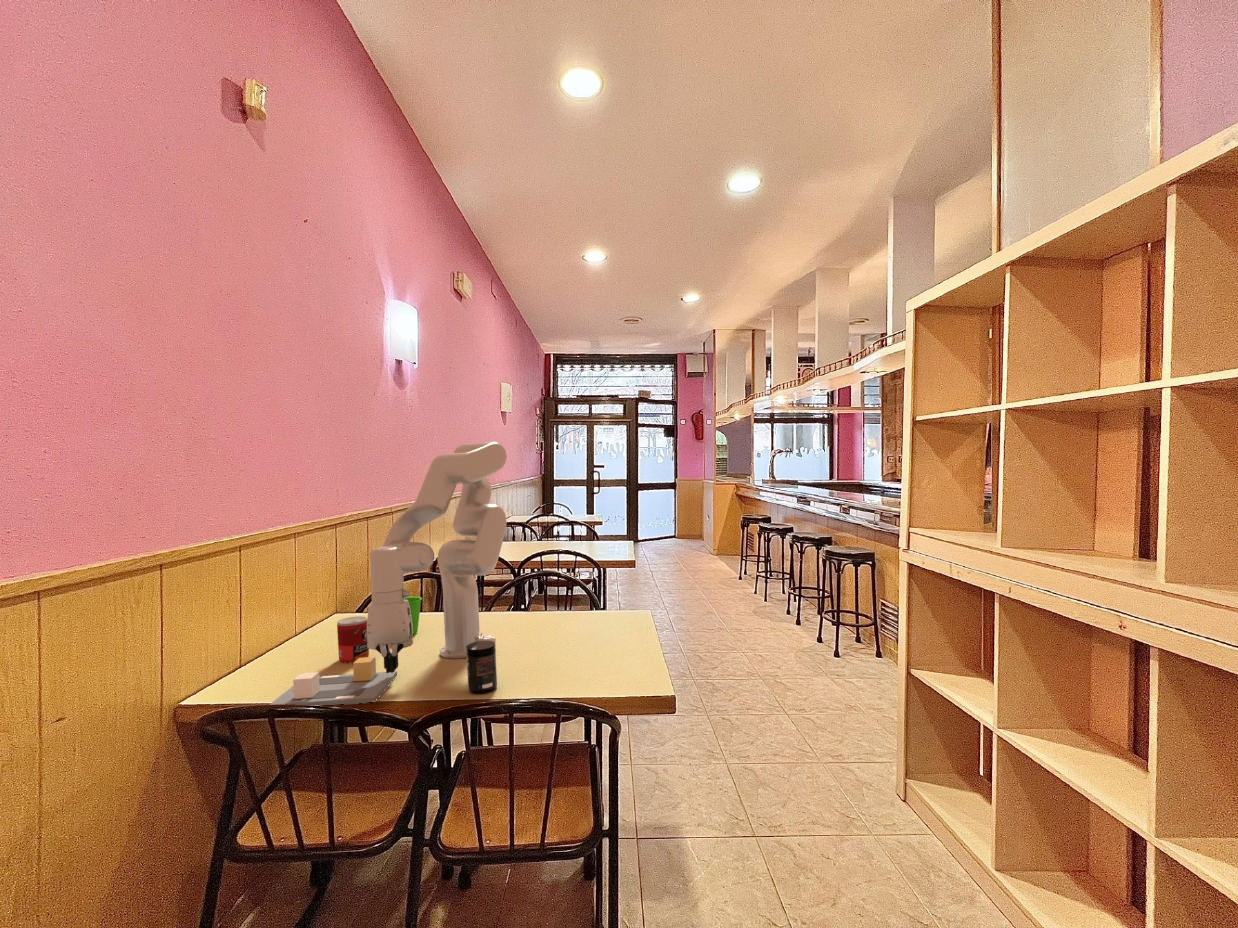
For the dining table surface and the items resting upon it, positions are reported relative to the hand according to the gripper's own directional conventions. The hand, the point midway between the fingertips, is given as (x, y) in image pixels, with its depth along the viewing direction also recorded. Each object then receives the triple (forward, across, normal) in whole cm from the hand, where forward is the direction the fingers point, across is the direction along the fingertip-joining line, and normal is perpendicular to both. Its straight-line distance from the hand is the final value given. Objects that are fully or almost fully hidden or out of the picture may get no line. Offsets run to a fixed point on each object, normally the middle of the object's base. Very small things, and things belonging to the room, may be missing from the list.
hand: (391, 670), depth 149 cm
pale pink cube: (+1, +16, +9) cm, 19 cm away
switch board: (+3, +11, +4) cm, 12 cm away
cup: (+3, +7, -43) cm, 43 cm away
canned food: (+3, +16, -21) cm, 26 cm away
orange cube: (+1, +6, 0) cm, 7 cm away
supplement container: (+3, -24, +10) cm, 26 cm away
